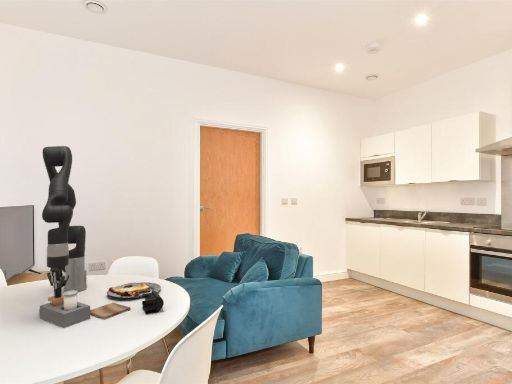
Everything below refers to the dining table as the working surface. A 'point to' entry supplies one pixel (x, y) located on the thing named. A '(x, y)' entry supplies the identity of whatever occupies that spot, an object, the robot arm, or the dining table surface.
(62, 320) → the grey hollow block
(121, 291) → the food plate
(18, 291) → the dining table surface
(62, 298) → the orange cube
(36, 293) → the dining table surface
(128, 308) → the walnut board
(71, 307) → the cylinder
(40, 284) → the dining table surface
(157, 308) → the end cap
